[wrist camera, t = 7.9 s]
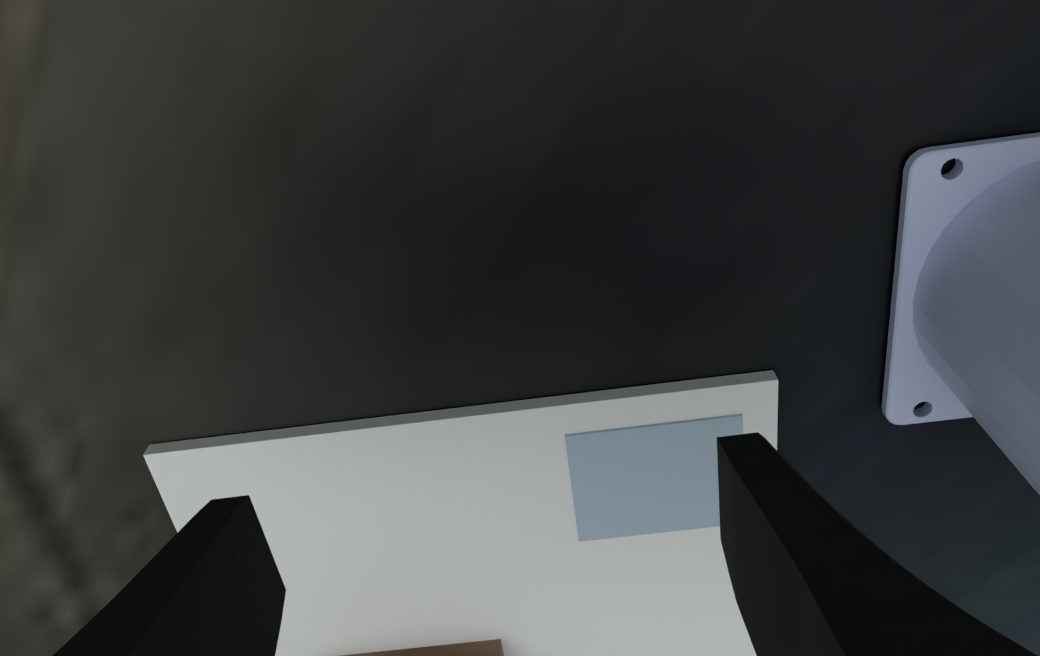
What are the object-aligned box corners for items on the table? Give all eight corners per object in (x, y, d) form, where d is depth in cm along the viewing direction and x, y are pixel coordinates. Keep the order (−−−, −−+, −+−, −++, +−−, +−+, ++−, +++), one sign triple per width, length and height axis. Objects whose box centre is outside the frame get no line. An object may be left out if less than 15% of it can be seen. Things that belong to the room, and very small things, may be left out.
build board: (773, 369, 23) (779, 381, 23) (767, 732, 31) (772, 747, 30) (149, 444, 24) (141, 457, 24) (294, 777, 32) (291, 793, 31)
